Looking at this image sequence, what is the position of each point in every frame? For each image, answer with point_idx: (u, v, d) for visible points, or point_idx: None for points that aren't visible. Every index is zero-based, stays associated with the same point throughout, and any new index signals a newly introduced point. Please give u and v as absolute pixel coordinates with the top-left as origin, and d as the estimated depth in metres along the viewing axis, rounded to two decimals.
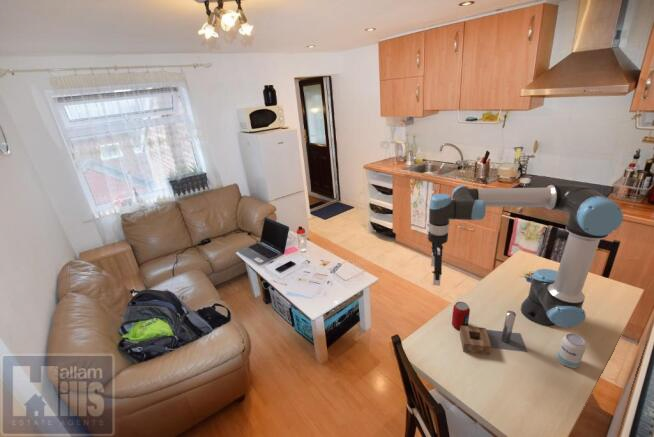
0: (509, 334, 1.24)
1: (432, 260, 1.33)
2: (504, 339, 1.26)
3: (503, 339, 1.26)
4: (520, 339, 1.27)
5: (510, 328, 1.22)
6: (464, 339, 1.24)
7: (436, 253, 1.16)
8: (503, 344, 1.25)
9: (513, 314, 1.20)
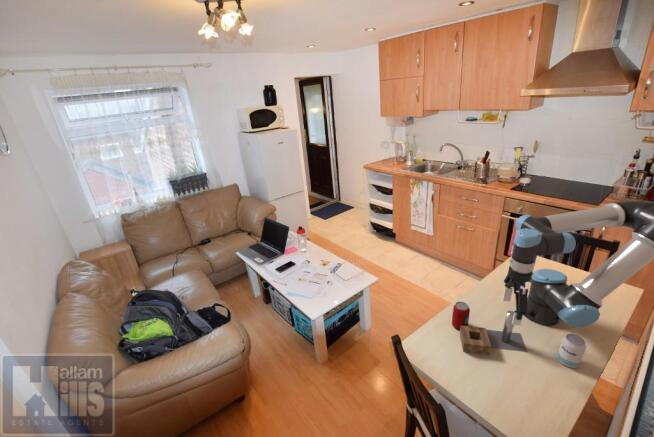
0: (509, 334, 1.24)
1: (505, 294, 1.25)
2: (504, 339, 1.26)
3: (503, 339, 1.26)
4: (520, 339, 1.27)
5: (510, 328, 1.22)
6: (464, 339, 1.24)
7: (521, 292, 1.08)
8: (503, 344, 1.25)
9: (513, 314, 1.20)
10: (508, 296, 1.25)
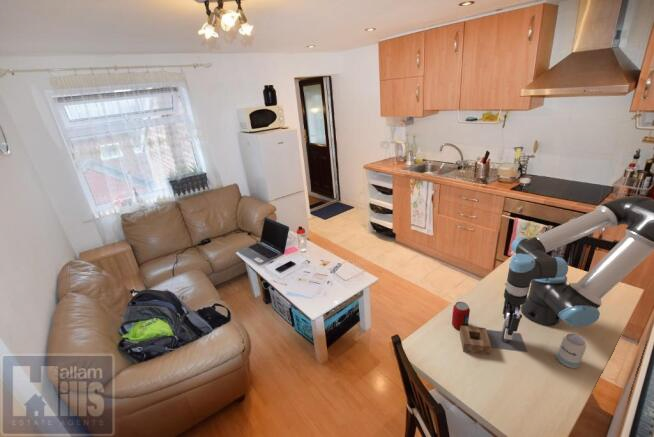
0: None
1: None
2: (504, 339, 1.26)
3: (503, 339, 1.26)
4: (520, 339, 1.27)
5: None
6: (464, 339, 1.24)
7: (515, 317, 1.14)
8: (503, 344, 1.25)
9: None
10: None
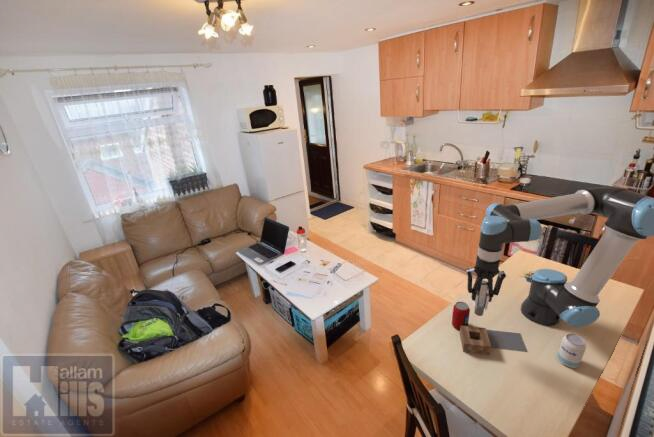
0: None
1: None
2: None
3: None
4: (520, 339, 1.27)
5: None
6: (464, 339, 1.24)
7: None
8: (503, 344, 1.25)
9: (482, 284, 1.13)
10: (485, 302, 1.17)
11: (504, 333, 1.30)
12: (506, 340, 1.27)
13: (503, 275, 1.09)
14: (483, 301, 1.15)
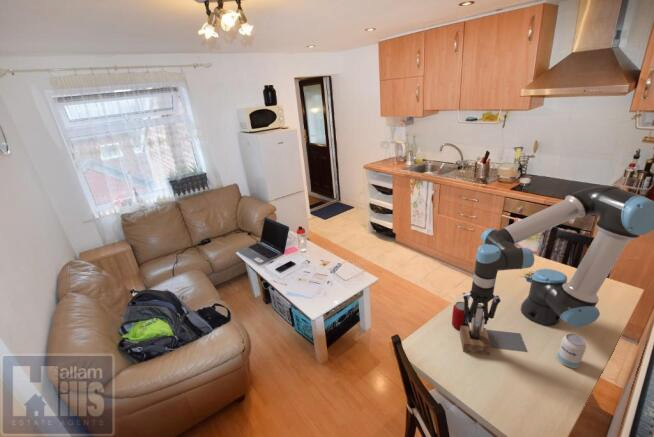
0: None
1: None
2: None
3: None
4: (520, 339, 1.27)
5: None
6: (464, 339, 1.24)
7: None
8: (503, 344, 1.25)
9: (478, 307, 1.18)
10: (481, 324, 1.22)
11: (504, 333, 1.30)
12: (506, 340, 1.27)
13: (498, 300, 1.14)
14: (479, 324, 1.20)
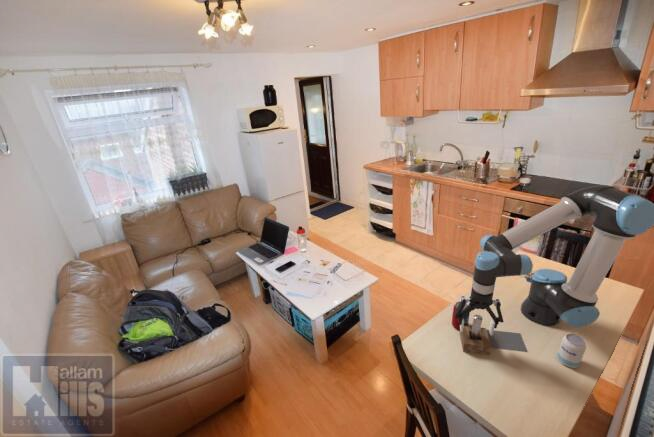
0: (471, 336, 1.25)
1: (490, 325, 1.22)
2: None
3: None
4: (520, 339, 1.27)
5: (472, 329, 1.24)
6: (464, 339, 1.24)
7: (461, 299, 1.20)
8: (503, 344, 1.25)
9: (477, 318, 1.20)
10: (490, 328, 1.21)
11: (504, 333, 1.30)
12: (506, 340, 1.27)
13: (498, 304, 1.15)
14: (477, 334, 1.23)
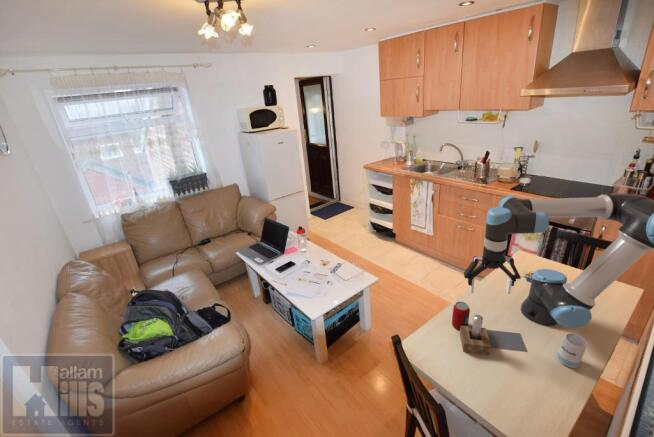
0: (471, 335, 1.25)
1: (507, 284, 1.20)
2: None
3: None
4: (520, 339, 1.27)
5: (472, 329, 1.24)
6: (464, 339, 1.24)
7: (473, 259, 1.18)
8: (503, 344, 1.25)
9: (477, 318, 1.20)
10: (507, 287, 1.19)
11: (504, 333, 1.30)
12: (506, 340, 1.27)
13: (511, 260, 1.13)
14: (478, 334, 1.23)
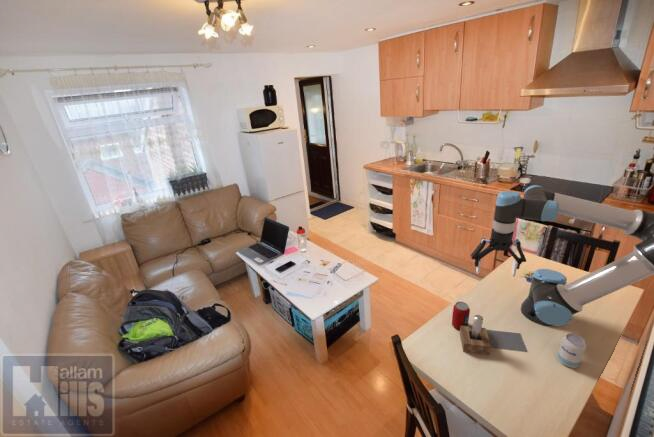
0: (471, 336, 1.25)
1: (512, 267, 1.25)
2: None
3: None
4: (520, 339, 1.27)
5: (472, 329, 1.24)
6: (464, 339, 1.24)
7: (481, 241, 1.23)
8: (503, 344, 1.25)
9: (477, 318, 1.20)
10: (513, 270, 1.24)
11: (504, 333, 1.30)
12: (506, 340, 1.27)
13: (518, 243, 1.18)
14: (478, 334, 1.23)
